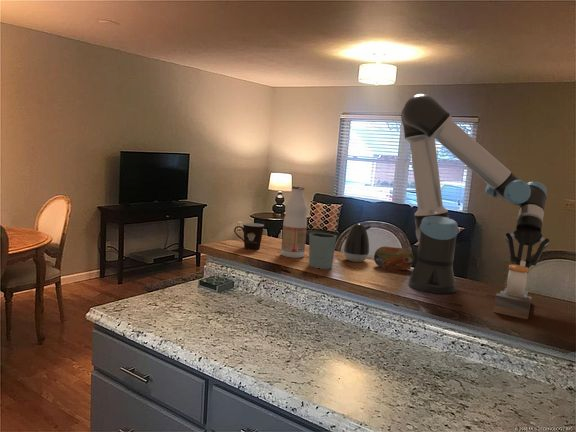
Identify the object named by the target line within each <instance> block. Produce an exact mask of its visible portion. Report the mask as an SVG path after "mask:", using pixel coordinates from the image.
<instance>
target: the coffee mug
mask: <svg viewBox="0 0 576 432" xmlns="http://www.w3.org/2000/svg"><path fill="white" fill-rule="evenodd" d="M242 225H243V226H241V225H238V226H235V227H234V230H233V232H234V234H235V235H236V237H238V239H240V240H241V241H242V242H243V243H244V244H243V245H244V247H243V248H244V249H245V250H249V249H250V250H251V251H258V250H260V248H261V243H262V238H263V233H264V227H265V224H262V223H256V222H255V223H254V222H245V223H243V224H242ZM238 228H240V229H241V230H242V231H243V237H241V236H240V235H239V234H238V233H237V231H236V229H238Z"/></svg>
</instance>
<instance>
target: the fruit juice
mask: <svg viewBox="0 0 576 432" xmlns="http://www.w3.org/2000/svg"><path fill="white" fill-rule="evenodd" d="M291 190H292V192H291V194H290V196H289V199H288V201H287V202H286V204H285V207H284V213H285V216H284V219H283V226H282V236H281V237H282V238H281V249H280V254H281V256H283V257H286V258H291V259H292V258H293V259H301V258H304V256H305V251H306V241H307V236H306V235H307V228H308V220H307V214H308V212H309V207H308V204H307V202H306V198H305V193H304V191H305V186H304V185H303V186H301V185H292V187H291Z"/></svg>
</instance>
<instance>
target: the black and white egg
mask: <svg viewBox="0 0 576 432" xmlns="http://www.w3.org/2000/svg"><path fill="white" fill-rule="evenodd" d="M369 229H371V225H367V226H364V224H362V223H359V222H358V223H355V224H353V225H352V226H351V228H350V229H349V231H348V234H347V235H346V239H345V240H344V241H345V242H344V245H343V252H344V256H345V259H347V260H349V261H350V262H353V263H362V262H364V261H366V259H367V258H368V256H369V254H370V239H369V236H368V235H369V234H368V231H367V230H369Z"/></svg>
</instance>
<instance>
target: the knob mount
mask: <svg viewBox="0 0 576 432" xmlns="http://www.w3.org/2000/svg"><path fill="white" fill-rule="evenodd" d="M528 292H529V291H526V290H525V292H524V297H523V298H519V297H520V296H517V295H512V294H508V295H506V287H504V290H500V292H499V293H498V292H497V293H496V294H495V299H494V306H493V313H496V314H501V315H505V316H510V317H515V318H518V319H519V318H520V319H525V320H529V313H530V309H531V303H532V296H528V295H529V293H528Z"/></svg>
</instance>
